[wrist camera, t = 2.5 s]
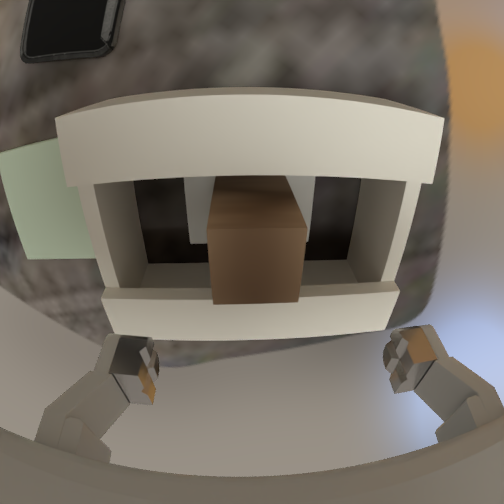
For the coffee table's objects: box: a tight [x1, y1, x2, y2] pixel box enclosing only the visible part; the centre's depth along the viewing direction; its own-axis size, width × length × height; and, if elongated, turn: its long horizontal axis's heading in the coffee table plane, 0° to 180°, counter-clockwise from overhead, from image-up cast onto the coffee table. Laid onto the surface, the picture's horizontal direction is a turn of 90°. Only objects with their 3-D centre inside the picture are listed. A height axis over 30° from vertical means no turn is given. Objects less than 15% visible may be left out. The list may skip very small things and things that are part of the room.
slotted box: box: [55, 87, 444, 341], centre depth 18 cm, size 18×14×7 cm
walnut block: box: [206, 175, 308, 305], centre depth 16 cm, size 4×4×7 cm
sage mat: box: [0, 137, 96, 259], centre depth 20 cm, size 10×10×1 cm
